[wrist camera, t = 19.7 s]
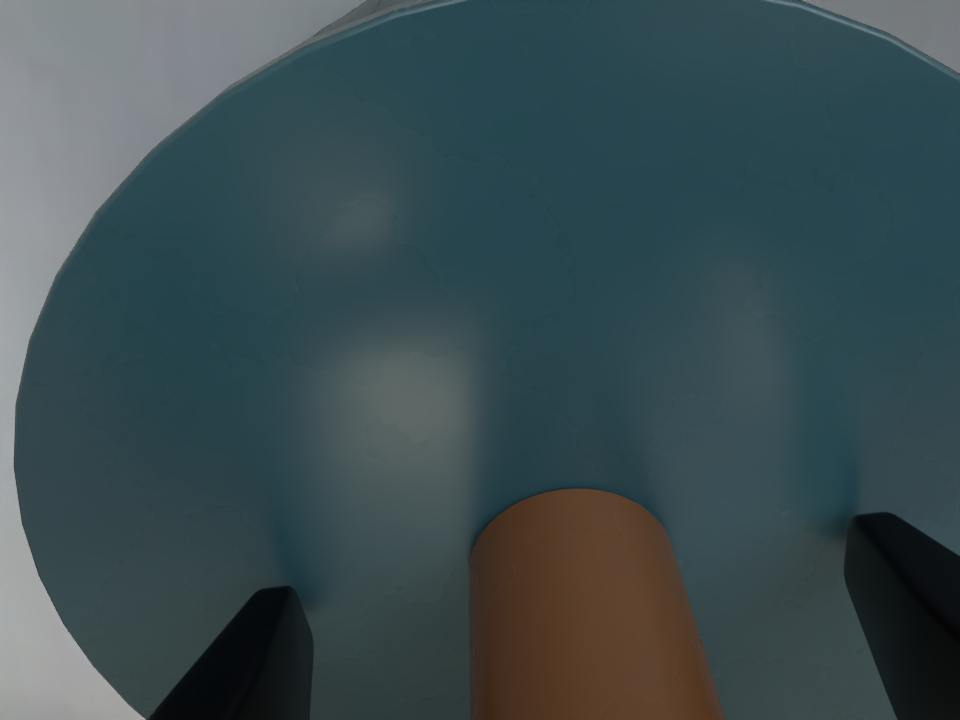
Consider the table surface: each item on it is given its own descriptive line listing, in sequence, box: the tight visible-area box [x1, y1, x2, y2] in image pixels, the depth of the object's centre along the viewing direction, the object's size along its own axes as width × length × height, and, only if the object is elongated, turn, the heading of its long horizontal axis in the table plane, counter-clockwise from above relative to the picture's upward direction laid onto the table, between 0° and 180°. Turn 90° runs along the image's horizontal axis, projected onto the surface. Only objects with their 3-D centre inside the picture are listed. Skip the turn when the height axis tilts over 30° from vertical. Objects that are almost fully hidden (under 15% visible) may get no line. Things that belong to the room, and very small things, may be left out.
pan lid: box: [14, 0, 960, 720], centre depth 8 cm, size 13×13×5 cm
